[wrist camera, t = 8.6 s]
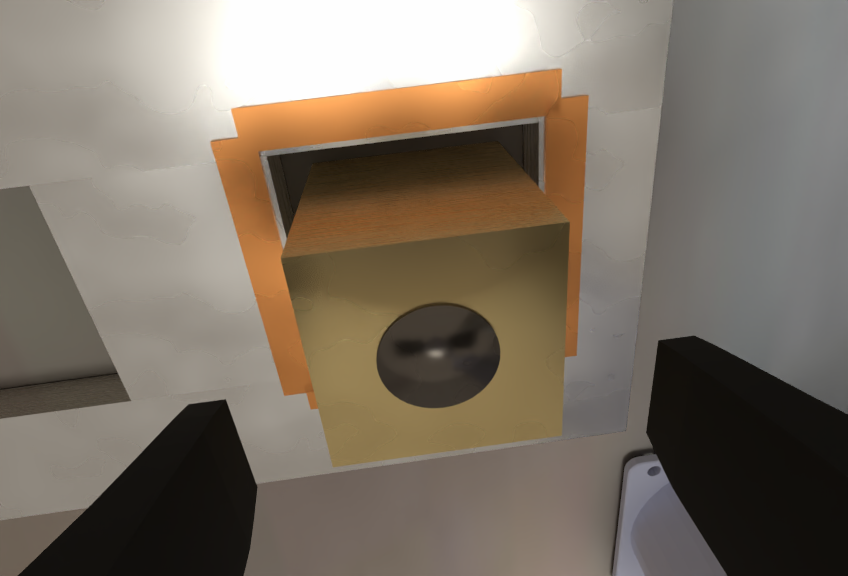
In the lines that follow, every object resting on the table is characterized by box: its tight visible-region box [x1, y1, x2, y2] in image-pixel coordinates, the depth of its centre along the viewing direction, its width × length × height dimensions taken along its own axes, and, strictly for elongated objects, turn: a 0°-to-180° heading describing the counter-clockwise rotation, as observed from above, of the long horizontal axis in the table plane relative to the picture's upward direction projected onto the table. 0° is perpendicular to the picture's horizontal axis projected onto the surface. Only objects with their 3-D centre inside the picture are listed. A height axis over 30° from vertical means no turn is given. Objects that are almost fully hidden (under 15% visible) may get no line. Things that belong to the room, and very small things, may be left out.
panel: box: [0, 0, 673, 520], centre depth 15 cm, size 24×14×2 cm, turn 95°
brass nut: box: [281, 141, 570, 467], centre depth 13 cm, size 5×5×6 cm
